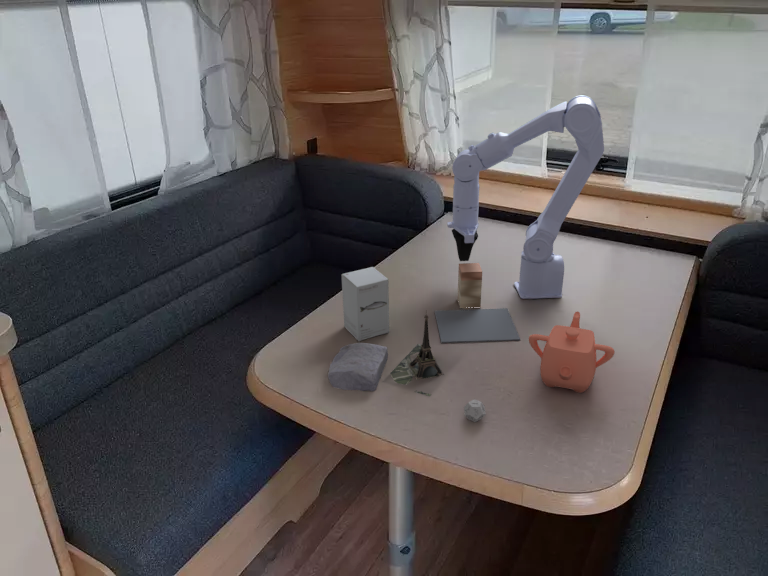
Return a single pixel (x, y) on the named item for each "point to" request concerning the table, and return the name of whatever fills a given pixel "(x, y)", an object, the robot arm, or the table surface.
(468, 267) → the tall block
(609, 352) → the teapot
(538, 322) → the table surface
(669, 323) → the table surface
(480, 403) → the game die
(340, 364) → the stone block
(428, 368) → the eiffel tower figurine
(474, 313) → the mat
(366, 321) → the supplement box
